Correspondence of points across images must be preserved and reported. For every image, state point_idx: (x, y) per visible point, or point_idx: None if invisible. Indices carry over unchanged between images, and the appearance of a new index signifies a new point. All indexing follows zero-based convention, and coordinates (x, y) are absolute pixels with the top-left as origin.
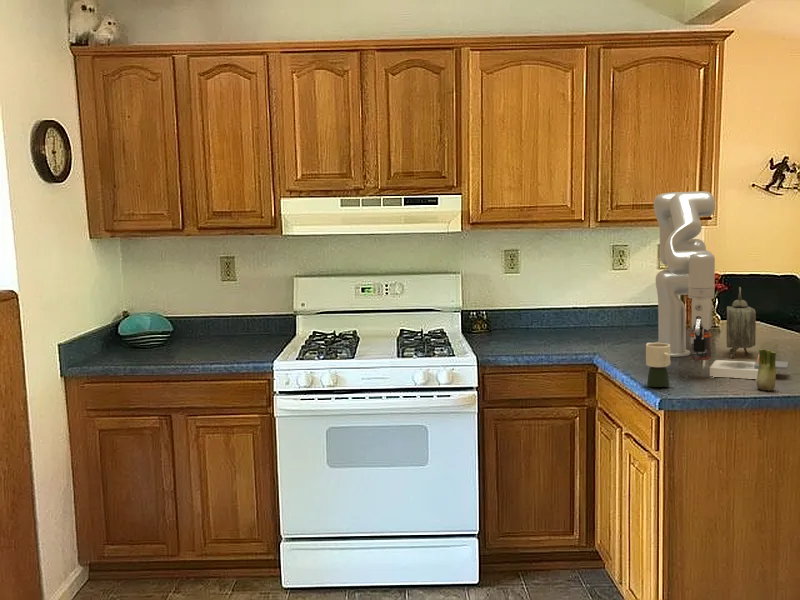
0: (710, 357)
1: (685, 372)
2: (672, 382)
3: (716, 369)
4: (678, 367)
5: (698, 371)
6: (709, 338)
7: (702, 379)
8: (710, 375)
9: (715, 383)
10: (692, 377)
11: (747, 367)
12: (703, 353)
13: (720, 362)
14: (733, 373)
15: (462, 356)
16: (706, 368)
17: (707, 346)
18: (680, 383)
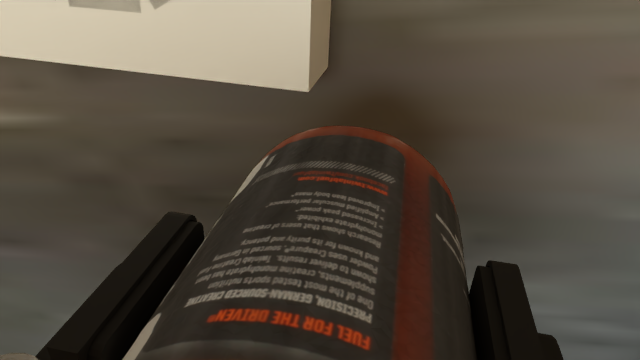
0: (371, 132)
1: (214, 218)
2: (563, 301)
3: (312, 26)
4: (92, 247)
5: (150, 145)
6: (384, 355)
7: (423, 118)
8: (323, 65)
9: (589, 8)
10: None
11: None
12: (460, 247)
13: (25, 4)
14: None
15: None
16: (33, 96)
17: (437, 267)
18: (598, 260)
